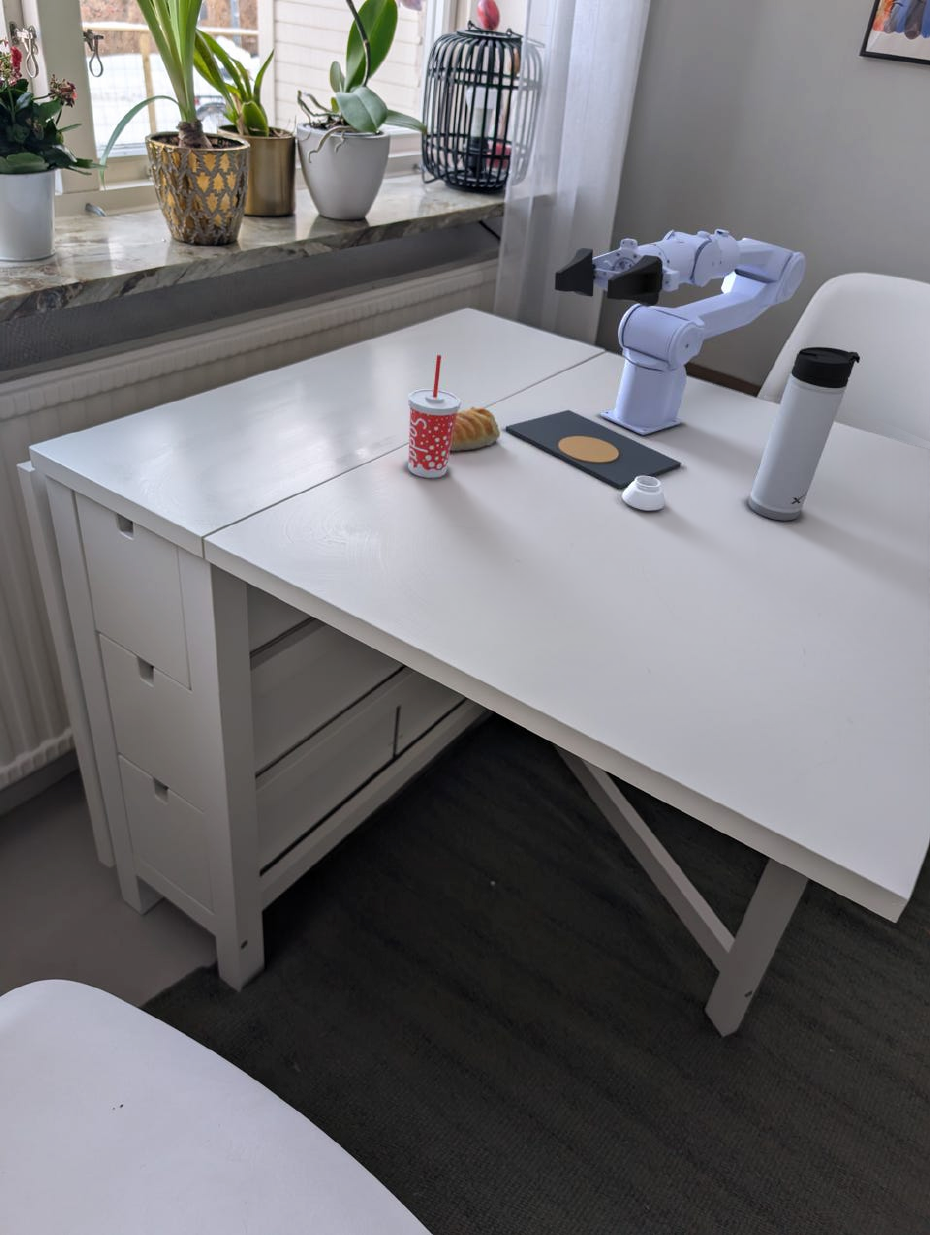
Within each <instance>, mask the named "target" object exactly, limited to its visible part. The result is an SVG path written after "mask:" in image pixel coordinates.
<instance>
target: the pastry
mask: <svg viewBox="0 0 930 1235" xmlns="http://www.w3.org/2000/svg"><path fill="white" fill-rule="evenodd" d="M500 435H501V431H500V430H499V425H498V423H497V422H496V417H495V415H494V414H493V412H491V411H490V410H489V409H487V408H485V407H475V406H471V407H470V408H469V409H468V408H467V409H465V410H463V409H462V410H460V411H459V410H458V412H457V415H456V421H455V426H454V432H453V437H452V443H451V448H450V451H452V452H455V451H456V452H461V451H470V450H475V449H476V450H477V449H480V448H485V446H488V447H489V446H492V445H493V444H494V443H495V442H497V441H498V439H499V438H500Z"/></svg>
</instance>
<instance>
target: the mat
mask: <svg viewBox="0 0 930 1235" xmlns="http://www.w3.org/2000/svg"><path fill="white" fill-rule="evenodd" d="M505 431H506V432H508V433H509V434H512V435H514V436H515V437H517V438H520V439H521V440H523V441H525V442H527V443H529V444H531V445H533V446H535V447H536V448H538V449H541V450H542V451H544V452H546V453H549V454H550V455H552V456H554V457H556V458H558V459H560V460H562V461H564V462H566V463H568V464H570V465H571V466H574V467H575V468H578V469H579V470H581V471H583V472H585V473H587V474H588V475H591V476H593V477H595V478H597V479H598V480H600V481H603V482H604V483H606V484H608V485H610V486H612V487H615V488H616V489H618V490H620V489H623V488H627V487H628V486H629V485H630V484H631V483H632V482H633V481H634V480H635V478H636V477H638V476H650V477H653V478H654V477H656V476H659V475H662V474H664V473H667V472H670V471H672V470H675V469H678V468H680V467H681V464H682V463H681V462H680V461H679V460H676V459H674V458H672V457H669V456H667V455H665V454H663V453H662V452H659V451H657V450H655V449H652V448H650V447H648V446H646V445H645V444H642V443H640V442H638V441H636V440H634V439H632V438H630V437H627V436H625V435H623V434H621V433H619V432H617V431H614V430H613V429H610V428H608V427H606V426H604V425H601V424H600V423H597V422H595V421H593V420H592V419H589V418H587V417H585V416H582V415H580V414H578V413H577V412H574V411H572V410H570V409H567V410H563V411H558V412H555V413H552V414H548V415H544V416H540V417H537V418H532V419H529V420H525V421H522V422H518V423H514V424H509V425H506V426H505Z"/></svg>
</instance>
